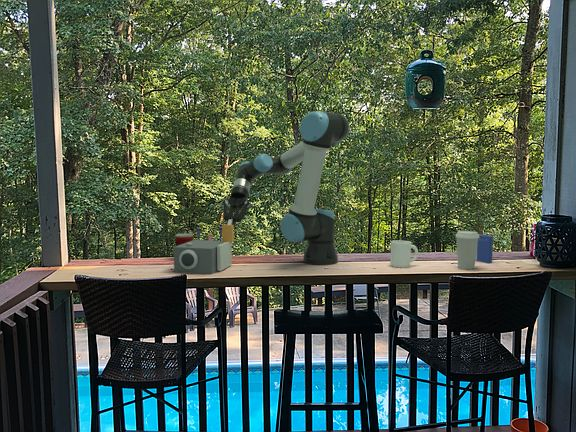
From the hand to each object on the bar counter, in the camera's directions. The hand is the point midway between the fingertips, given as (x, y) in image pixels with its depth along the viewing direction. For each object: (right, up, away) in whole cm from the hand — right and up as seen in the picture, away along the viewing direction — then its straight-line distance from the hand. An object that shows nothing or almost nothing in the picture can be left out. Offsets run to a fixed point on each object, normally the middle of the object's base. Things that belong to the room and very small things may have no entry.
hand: (227, 233), depth 235 cm
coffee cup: (+99, -14, -2) cm, 100 cm away
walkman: (+111, -13, +13) cm, 112 cm away
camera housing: (-10, -14, -5) cm, 18 cm away
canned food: (-21, -12, +16) cm, 29 cm away
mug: (+74, -14, +2) cm, 76 cm away
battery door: (-1, -14, -6) cm, 15 cm away
